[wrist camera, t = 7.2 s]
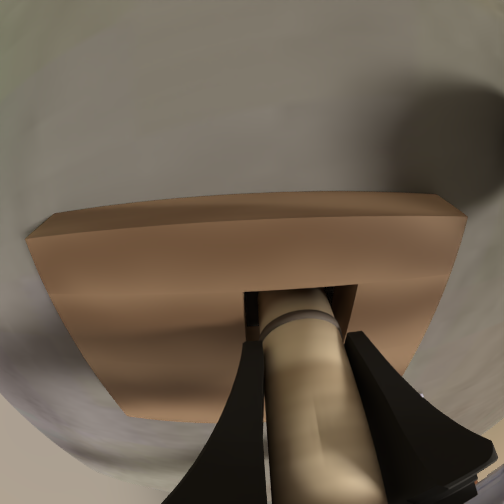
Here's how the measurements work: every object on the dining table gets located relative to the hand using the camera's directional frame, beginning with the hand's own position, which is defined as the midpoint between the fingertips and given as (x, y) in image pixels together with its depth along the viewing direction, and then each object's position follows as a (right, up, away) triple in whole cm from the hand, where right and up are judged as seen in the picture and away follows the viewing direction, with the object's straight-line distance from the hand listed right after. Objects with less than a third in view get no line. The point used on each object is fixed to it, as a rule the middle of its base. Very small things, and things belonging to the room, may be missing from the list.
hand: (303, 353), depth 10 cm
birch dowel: (0, +2, +3) cm, 3 cm away
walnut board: (-2, 0, +4) cm, 5 cm away
